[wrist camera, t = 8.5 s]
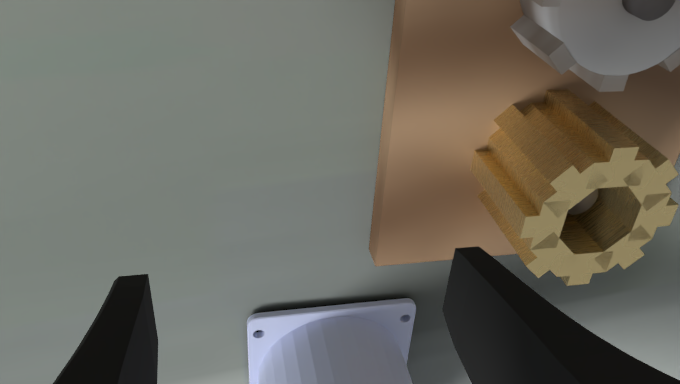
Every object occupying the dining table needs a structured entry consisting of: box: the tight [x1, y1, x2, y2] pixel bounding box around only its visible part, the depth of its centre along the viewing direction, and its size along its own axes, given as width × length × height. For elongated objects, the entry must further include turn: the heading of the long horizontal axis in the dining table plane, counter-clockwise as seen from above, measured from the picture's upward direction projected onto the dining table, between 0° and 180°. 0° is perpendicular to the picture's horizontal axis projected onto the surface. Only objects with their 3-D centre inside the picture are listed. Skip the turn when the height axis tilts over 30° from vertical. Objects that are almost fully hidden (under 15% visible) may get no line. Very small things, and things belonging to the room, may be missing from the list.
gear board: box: [369, 0, 680, 266], centre depth 21 cm, size 18×13×5 cm
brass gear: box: [471, 89, 679, 286], centre depth 23 cm, size 6×6×4 cm
